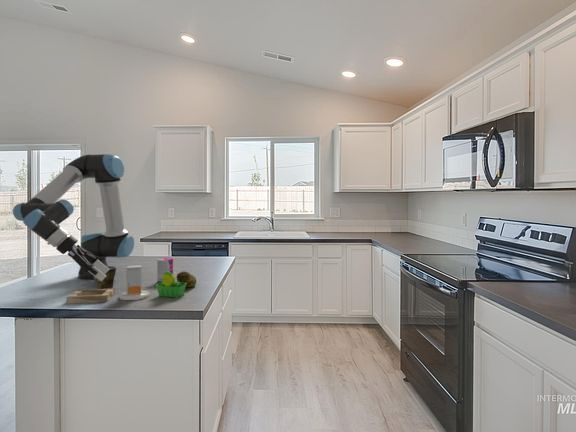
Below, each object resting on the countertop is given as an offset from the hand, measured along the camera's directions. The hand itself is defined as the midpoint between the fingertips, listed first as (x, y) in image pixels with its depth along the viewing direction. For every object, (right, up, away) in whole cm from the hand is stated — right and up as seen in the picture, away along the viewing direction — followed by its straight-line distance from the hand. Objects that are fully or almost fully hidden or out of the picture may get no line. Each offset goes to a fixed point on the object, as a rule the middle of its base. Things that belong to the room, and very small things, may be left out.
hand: (105, 275), depth 154 cm
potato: (+28, -9, +21) cm, 37 cm away
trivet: (+10, -10, +4) cm, 15 cm away
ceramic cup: (-8, -10, +15) cm, 20 cm away
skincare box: (+10, -9, +4) cm, 14 cm away
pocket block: (-6, -10, +1) cm, 12 cm away
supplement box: (+14, -9, +33) cm, 37 cm away
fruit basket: (+25, -10, +6) cm, 28 cm away
